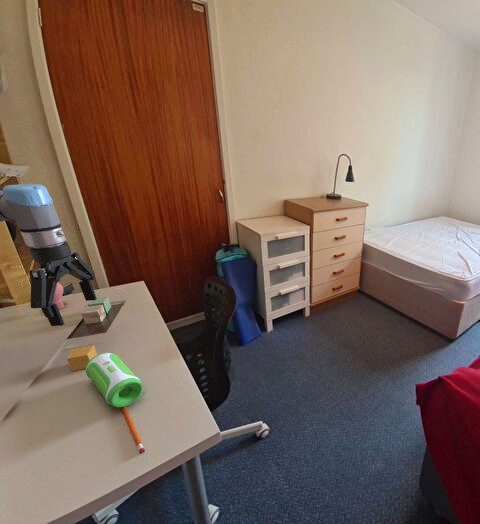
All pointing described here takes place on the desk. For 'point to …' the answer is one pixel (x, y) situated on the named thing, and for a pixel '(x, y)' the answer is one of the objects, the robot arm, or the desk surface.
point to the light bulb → (58, 296)
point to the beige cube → (93, 314)
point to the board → (96, 324)
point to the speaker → (114, 379)
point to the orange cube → (81, 357)
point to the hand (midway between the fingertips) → (76, 311)
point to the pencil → (133, 430)
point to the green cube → (101, 303)
